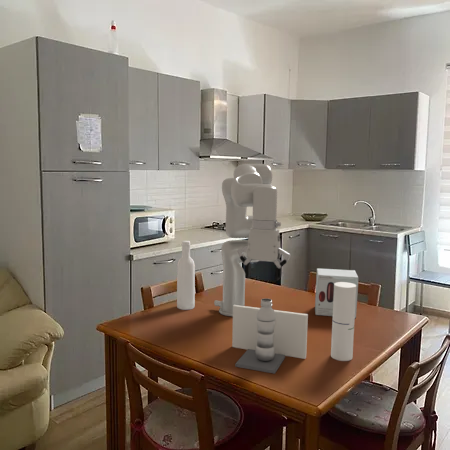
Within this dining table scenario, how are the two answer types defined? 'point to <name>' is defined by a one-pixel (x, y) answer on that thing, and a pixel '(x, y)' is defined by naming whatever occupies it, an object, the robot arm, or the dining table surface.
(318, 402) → the dining table surface
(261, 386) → the dining table surface
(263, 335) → the plastic bottle
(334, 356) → the cylindrical container
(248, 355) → the mat
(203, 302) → the dining table surface
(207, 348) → the dining table surface
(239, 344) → the screen
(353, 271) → the supplement box
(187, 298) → the bottle
